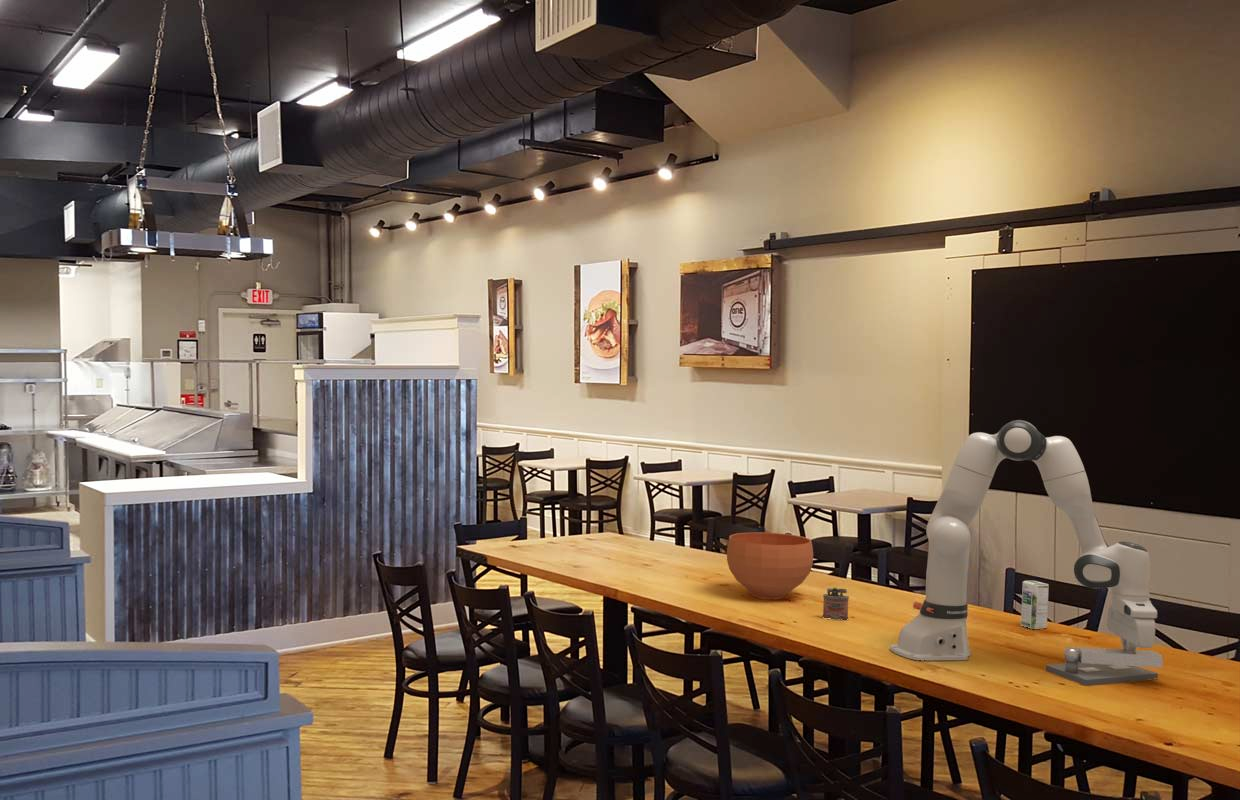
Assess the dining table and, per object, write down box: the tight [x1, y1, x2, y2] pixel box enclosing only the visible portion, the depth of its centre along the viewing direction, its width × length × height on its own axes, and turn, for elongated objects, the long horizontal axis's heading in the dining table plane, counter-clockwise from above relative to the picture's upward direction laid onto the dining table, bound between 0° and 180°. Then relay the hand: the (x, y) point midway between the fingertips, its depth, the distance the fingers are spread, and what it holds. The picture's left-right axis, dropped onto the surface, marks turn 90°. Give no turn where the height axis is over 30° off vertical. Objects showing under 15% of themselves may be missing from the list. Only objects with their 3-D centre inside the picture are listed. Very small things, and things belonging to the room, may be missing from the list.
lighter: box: [822, 586, 850, 621], centre depth 323 cm, size 8×3×10 cm, turn 76°
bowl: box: [726, 531, 814, 600], centre depth 355 cm, size 30×30×20 cm
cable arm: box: [1064, 646, 1163, 668], centre depth 262 cm, size 23×5×3 cm, turn 84°
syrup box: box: [1020, 580, 1050, 630], centre depth 318 cm, size 6×6×14 cm
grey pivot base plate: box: [1045, 660, 1159, 687], centre depth 266 cm, size 24×14×4 cm, turn 110°
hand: (1128, 656), depth 265 cm, fingers closed
